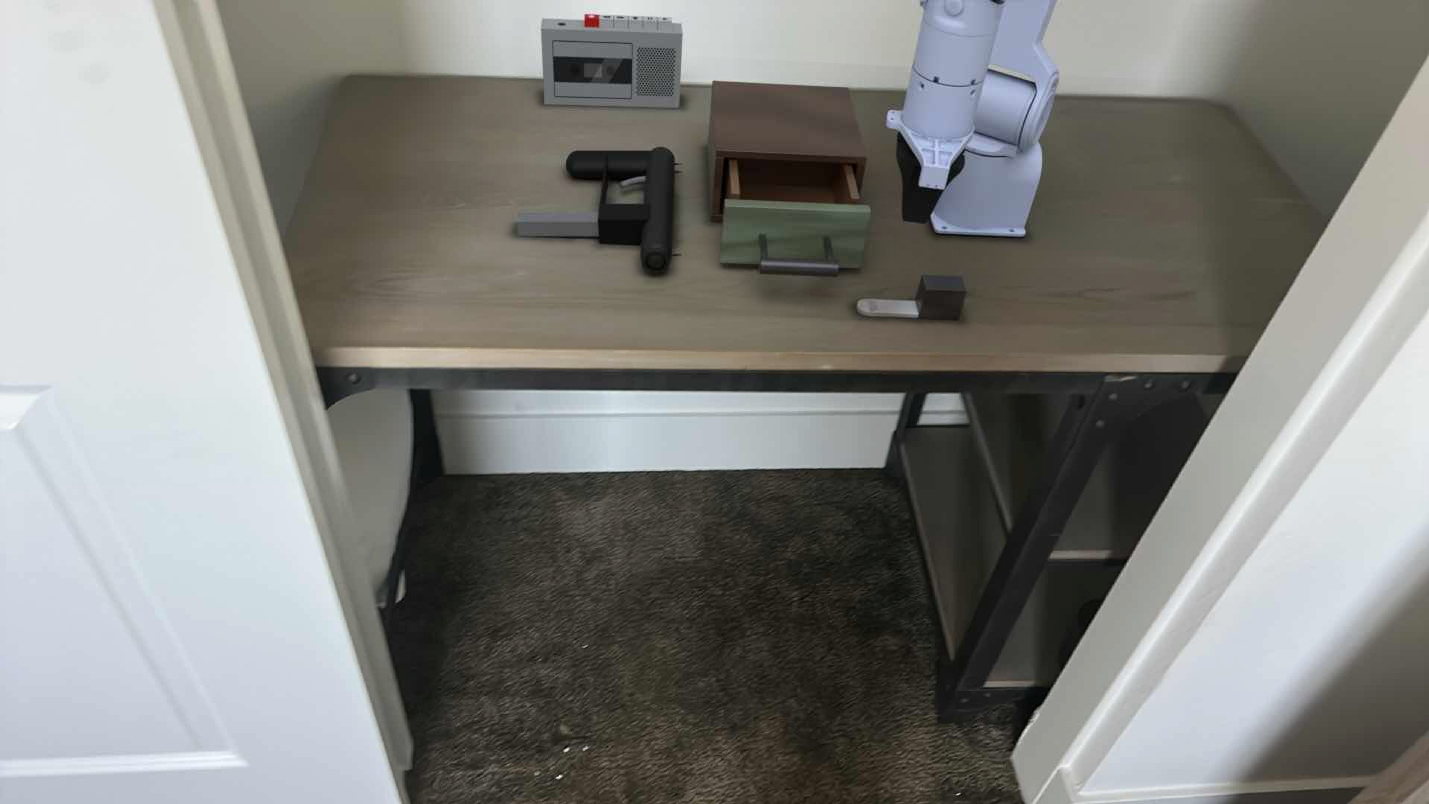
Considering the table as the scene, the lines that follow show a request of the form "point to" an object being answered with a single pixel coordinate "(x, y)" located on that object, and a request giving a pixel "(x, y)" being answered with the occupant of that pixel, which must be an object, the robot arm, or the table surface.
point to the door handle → (619, 220)
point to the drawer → (792, 216)
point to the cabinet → (780, 129)
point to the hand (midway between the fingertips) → (914, 218)
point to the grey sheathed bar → (923, 300)
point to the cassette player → (612, 61)
